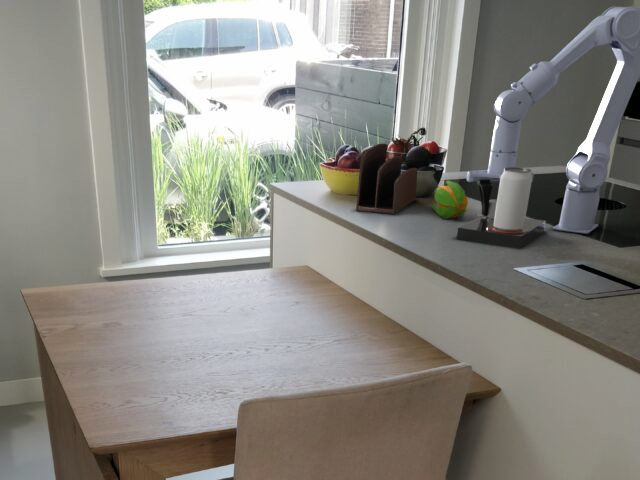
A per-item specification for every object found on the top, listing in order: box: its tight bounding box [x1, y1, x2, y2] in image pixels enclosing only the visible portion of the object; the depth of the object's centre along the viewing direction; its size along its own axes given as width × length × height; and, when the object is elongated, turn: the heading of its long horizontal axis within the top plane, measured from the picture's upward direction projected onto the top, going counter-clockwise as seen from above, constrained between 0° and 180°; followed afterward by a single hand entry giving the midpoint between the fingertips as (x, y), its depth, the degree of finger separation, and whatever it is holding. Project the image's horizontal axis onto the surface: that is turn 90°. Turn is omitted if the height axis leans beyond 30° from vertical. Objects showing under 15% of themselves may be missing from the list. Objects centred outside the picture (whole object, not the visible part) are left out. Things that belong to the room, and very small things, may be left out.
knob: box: [485, 198, 497, 219], centre depth 189 cm, size 4×4×4 cm
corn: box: [430, 180, 469, 220], centre depth 203 cm, size 7×8×20 cm
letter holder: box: [355, 143, 418, 215], centre depth 208 cm, size 10×20×14 cm, turn 155°
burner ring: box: [487, 224, 529, 234], centre depth 181 cm, size 9×9×1 cm
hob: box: [456, 213, 547, 249], centre depth 186 cm, size 19×15×3 cm
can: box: [493, 166, 533, 231], centre depth 177 cm, size 6×6×12 cm
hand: (494, 215), depth 190 cm, fingers closed on knob, 4 cm apart
